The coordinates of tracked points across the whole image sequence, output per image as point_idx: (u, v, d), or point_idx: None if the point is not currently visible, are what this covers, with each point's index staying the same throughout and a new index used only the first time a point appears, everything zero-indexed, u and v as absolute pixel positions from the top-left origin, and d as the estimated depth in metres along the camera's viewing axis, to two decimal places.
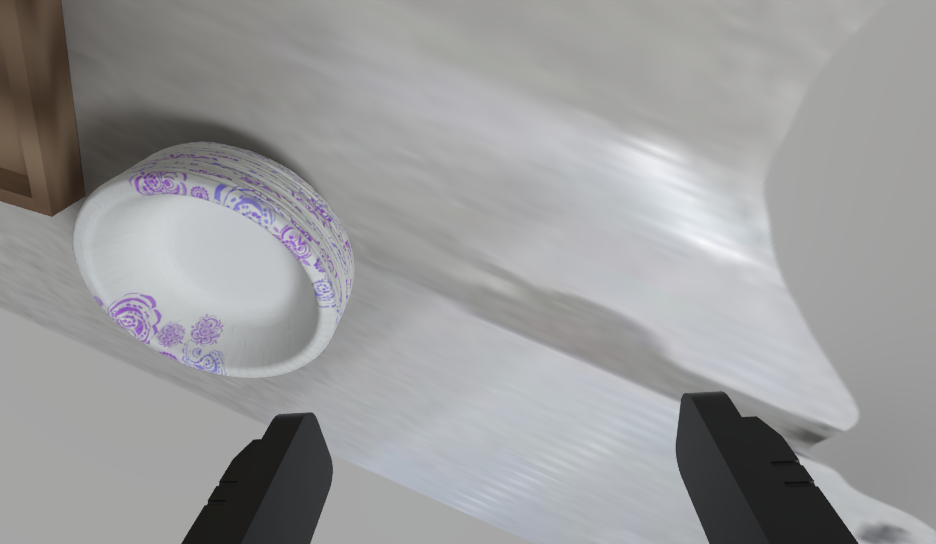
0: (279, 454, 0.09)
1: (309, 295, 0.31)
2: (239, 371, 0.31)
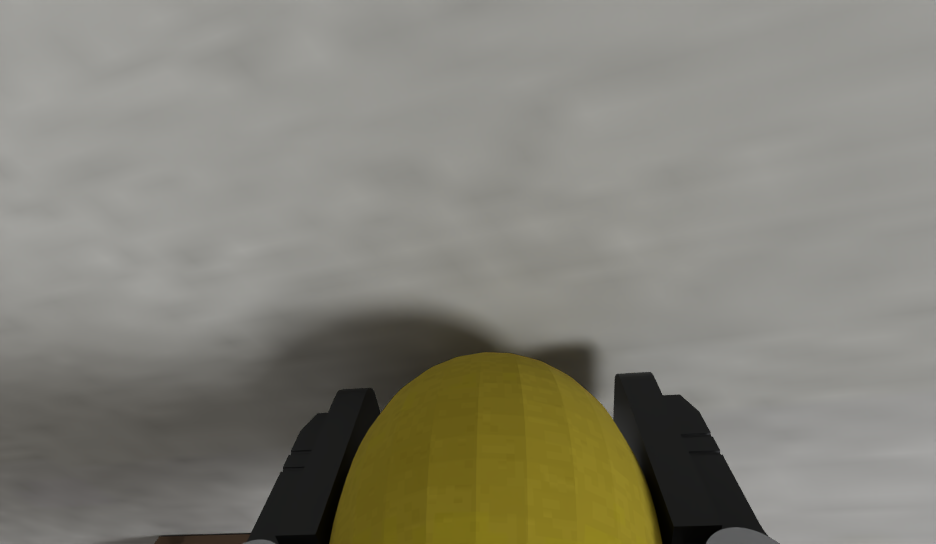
0: (348, 424, 0.09)
1: None
2: None
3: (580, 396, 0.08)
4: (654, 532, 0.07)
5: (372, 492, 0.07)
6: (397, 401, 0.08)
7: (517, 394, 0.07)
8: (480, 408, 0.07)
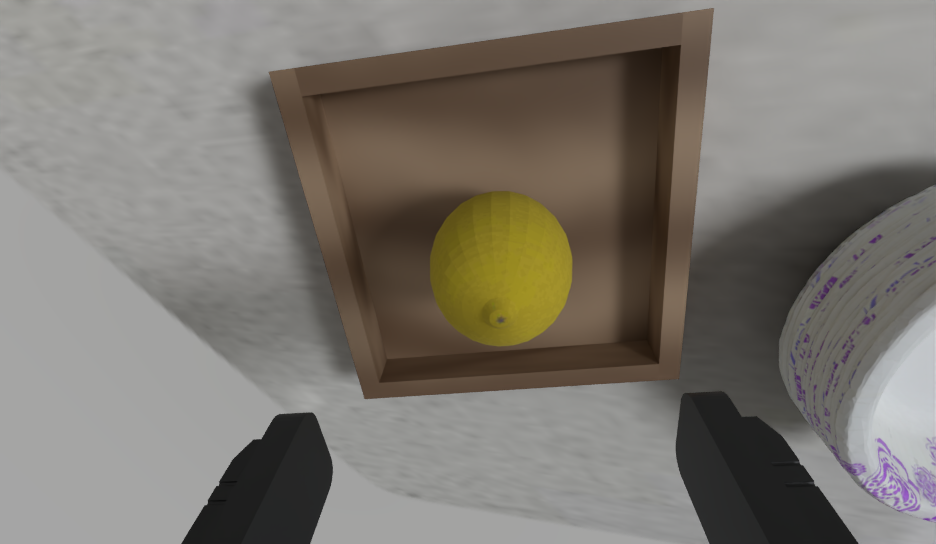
0: (279, 454, 0.09)
1: None
2: None
3: (536, 201, 0.18)
4: (563, 240, 0.17)
5: (450, 225, 0.17)
6: None
7: (508, 194, 0.17)
8: (492, 196, 0.17)
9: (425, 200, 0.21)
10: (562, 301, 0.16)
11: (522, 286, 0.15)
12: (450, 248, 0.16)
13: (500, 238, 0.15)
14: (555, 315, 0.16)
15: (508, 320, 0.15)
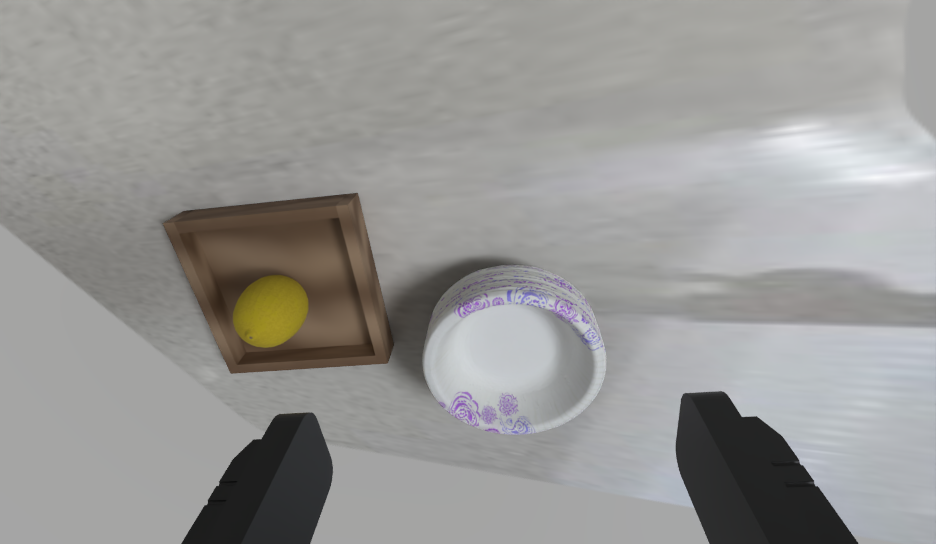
0: (279, 454, 0.09)
1: (572, 349, 0.40)
2: (544, 425, 0.40)
3: (286, 280, 0.39)
4: (290, 300, 0.38)
5: (241, 295, 0.38)
6: None
7: (269, 279, 0.38)
8: (261, 281, 0.38)
9: (251, 273, 0.42)
10: (286, 328, 0.37)
11: (259, 323, 0.36)
12: (236, 307, 0.37)
13: (252, 303, 0.36)
14: (283, 334, 0.37)
15: (254, 337, 0.36)
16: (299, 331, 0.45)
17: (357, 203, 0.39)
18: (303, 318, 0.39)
